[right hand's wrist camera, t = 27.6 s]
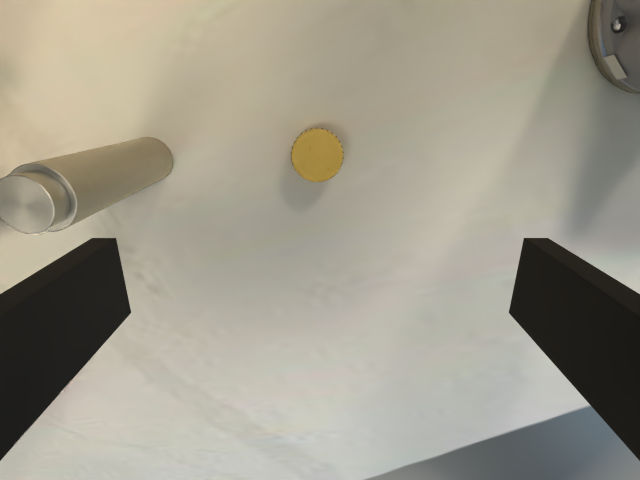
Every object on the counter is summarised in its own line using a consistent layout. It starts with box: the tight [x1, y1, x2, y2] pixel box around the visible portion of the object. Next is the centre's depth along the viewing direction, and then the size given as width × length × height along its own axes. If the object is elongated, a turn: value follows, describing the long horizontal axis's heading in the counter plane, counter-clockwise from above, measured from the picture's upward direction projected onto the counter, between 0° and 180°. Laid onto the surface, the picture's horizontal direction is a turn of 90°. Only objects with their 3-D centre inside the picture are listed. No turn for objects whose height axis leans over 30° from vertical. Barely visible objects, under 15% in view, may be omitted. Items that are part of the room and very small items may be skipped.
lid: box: [291, 128, 343, 182], centre depth 39 cm, size 5×5×2 cm
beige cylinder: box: [0, 137, 173, 235], centre depth 31 cm, size 4×4×18 cm
